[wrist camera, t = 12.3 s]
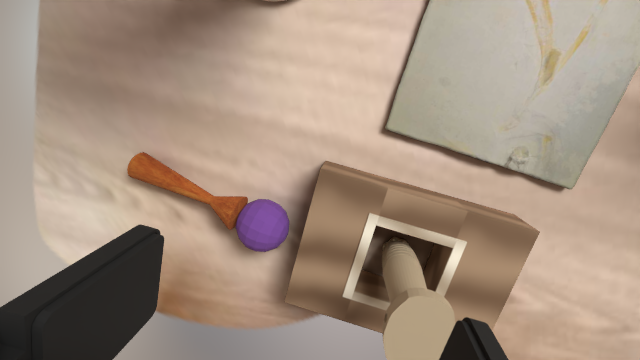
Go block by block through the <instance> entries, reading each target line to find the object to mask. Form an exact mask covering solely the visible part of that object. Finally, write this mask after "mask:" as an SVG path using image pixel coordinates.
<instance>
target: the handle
mask: <svg viewBox="0 0 640 360" xmlns="http://www.w3.org/2000/svg"><path fill="white" fill-rule="evenodd" d="M382 251H383V254H382V270H383V277H384V281H385V285H386V288H387V292H388V296H389V300H390V305H389V307H388V308H387V310H386V312H385V317H384V321H383V325H382V332H383V343H384V349H385V355H386V358H387V359H388V360H439V358H440V356H441V354H442V352H443V350H444V347H445V345H446V343H447V341H448V339H449V337H450V334H451V332H452V330H453V328H454V326H455V316H454V311H453V309H452V307H451V305H450V303H449V302H448V301H447V300H446V299H445V298H444V297H443V296H442V295H440V294H439V293H437V292H434V291H432V290H429V289H427V287H426V283H425V279H424V276H423V272H422V268H421V265H420V263H419V260H418V258H417V256H416V254H415V253H414V251H413V250H412V248H411V247H410V246H409V243H408V242H407V241H406V240H405V239H399V238H397V237H392V238H391V240H390V241H388V242H387V243H384V245H383V248H382Z"/></svg>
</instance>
